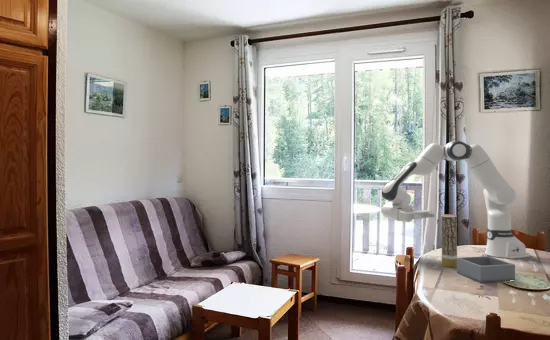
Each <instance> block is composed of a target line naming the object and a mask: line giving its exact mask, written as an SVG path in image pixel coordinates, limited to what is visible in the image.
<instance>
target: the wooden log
mask: <svg viewBox="0 0 550 340" xmlns="http://www.w3.org/2000/svg"><path fill="white" fill-rule="evenodd" d="M457 219H458V218H457V214H450V213H448V214H447V213H446V214H445V213H444V214H441V264H442V266H443V267H446V268H457V258H458V232H457V229H458V228H457V226H458V223H457V222H458V221H457Z"/></svg>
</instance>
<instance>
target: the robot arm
mask: <svg viewBox="0 0 550 340" xmlns="http://www.w3.org/2000/svg"><path fill="white" fill-rule="evenodd" d="M443 160H444V161H447V162H458V161H462V160H463V161H465V162H466V164H467V165H468V166H469V168H470V170H471V171H472V173H473V175H474V176H475V178H476V180H477V181H478V182H479V183H480V184H481V186H482V187H483V198H484V202H485V207H486V214H487V215H486V216H487V228H486V238H487V240H486V247H485V251H484V255H485V256H490V257H493V258H504V259H505V258H506V259H512V260H513V259H521V258H522V259H523V258H530V257H532V254H531V253H529V252H527V247H526V245H525V244H524V243H523V242H522V241H520V240H519V239H518V238H517V237H516V236H515V235H519V231H518V230H512V215H511V212H510V209H509V206H508V205H509V204H510V205H511V204H512V203H513V202H514V201H515V200H516V198H517V192H516V190H515V189H514V188H513V187H512V186H511V185H510V184H509V182H508V181H507V180H506V179H505V178H504V176H503V175H502V174H501V173H500V171H499V170H498V169H497V167H496V166H495V164H494V162H493V160H492V159H491V158H490V156H489V155H488V153H487V152H486V150H485V149H484V148H483V147H482V146H481V145H480V144H477V143H474V144H467V143H465V142H463V141H462V140H453V141H449V142H448V143H446V144H444V145H442V144H439V143H436V142H432V143H430V144H429V145H428V146H427V147H426V148H424V150H423V151H422V152H421V153H420V155H419V156H418V157H417V158H416V159H415V160H413V161H410V162H408V163H407V164H405V165H404V166H403V167H401V169H400V170H399V171H398V172H397V174H396V175H394V177H392V178H391V180H390V181H388V182H387V183H385V184H384V185H383V186H382V188H381V197H382V198H383V199H384V200H387V201H388V202H387V203H385V204H384V205H382V207H381V214H382V216H383V217H384V218H386V219H389V220H393V221H396V222H404V223H405V222H406V223H410V222H412V221H413V220H419V219H420V220H421V219H422V220H423V219H428V218H435V215H436V214H435V213H433V211H432V210H427V209H417V210H415V208H414V207H413V206H412V205H410V203H411V202H412V201H411V199H412V197H411V195H410V194H409V193H408V192H407V191H406V190H404V189H403V188H401V186H402V185H403V184H404V182H406V180H407V179H408V178H409V177H411V176H413V175H415V176H417V175H418V176H428V175H429V176H430V175H431V174H432V173H433V172H434V171H435V170H436V169H437V167H438V166H439V164H440V163H442V161H443Z"/></svg>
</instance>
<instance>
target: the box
mask: <svg viewBox="0 0 550 340" xmlns="http://www.w3.org/2000/svg"><path fill="white" fill-rule="evenodd" d="M456 273H457V274H459V275H461V276H463V277H465V278H467V279H469V280H472V281H475V282H477V283H479V284H490V283H491V284H492V283H506V282H505V281H510V280H515V281H516V265H515V264H513V263H511V262H508V261H505V260H502V259H498V258H497V257H494V256H489V255H485V256H481V255H480V256H464V257H457V266H456ZM510 282H511V281H510Z"/></svg>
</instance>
